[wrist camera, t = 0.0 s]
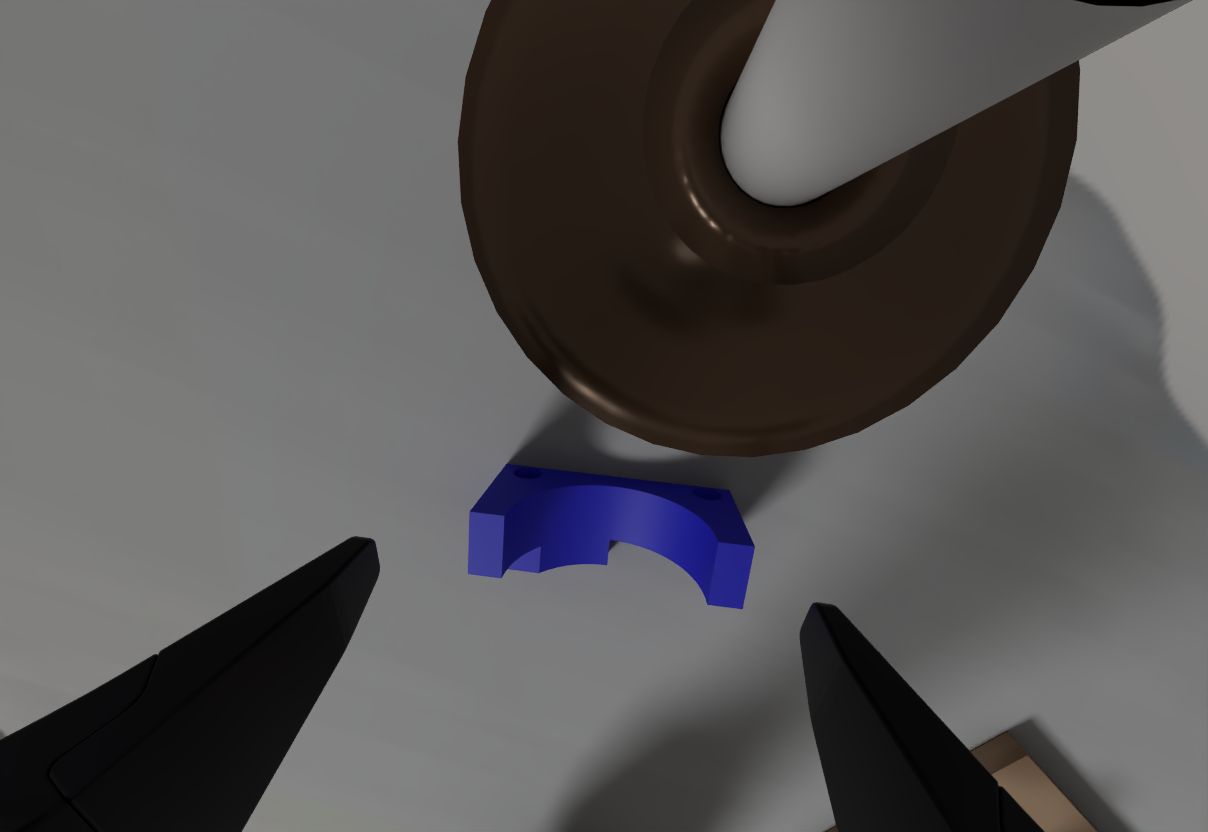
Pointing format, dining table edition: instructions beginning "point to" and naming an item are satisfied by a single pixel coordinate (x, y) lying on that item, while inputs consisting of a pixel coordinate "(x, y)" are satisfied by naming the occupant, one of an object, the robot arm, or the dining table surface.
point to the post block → (1029, 786)
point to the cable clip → (609, 527)
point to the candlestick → (767, 197)
